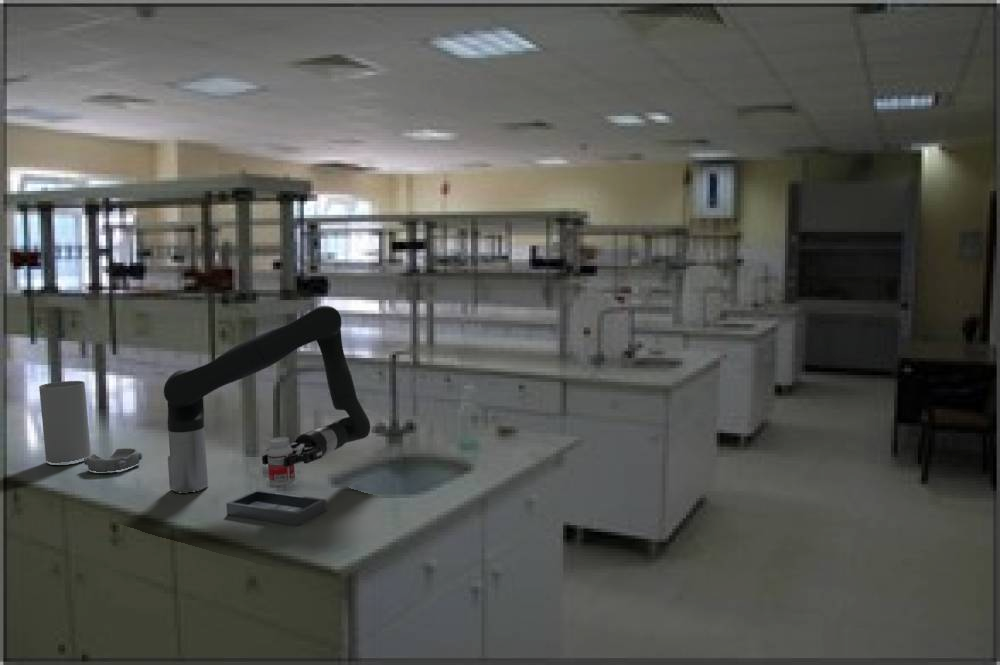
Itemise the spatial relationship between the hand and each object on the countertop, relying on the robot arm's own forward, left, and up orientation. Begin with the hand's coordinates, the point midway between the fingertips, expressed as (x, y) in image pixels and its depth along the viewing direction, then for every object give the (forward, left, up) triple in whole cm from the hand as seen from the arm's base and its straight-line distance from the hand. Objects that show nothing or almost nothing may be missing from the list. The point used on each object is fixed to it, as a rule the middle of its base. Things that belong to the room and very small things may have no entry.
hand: (274, 461), depth 183 cm
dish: (-76, +16, -14) cm, 79 cm away
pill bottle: (0, +2, -6) cm, 7 cm away
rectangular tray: (-2, +2, -14) cm, 14 cm away
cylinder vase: (-98, +17, -14) cm, 101 cm away
